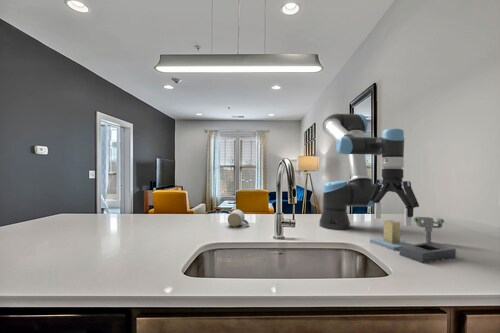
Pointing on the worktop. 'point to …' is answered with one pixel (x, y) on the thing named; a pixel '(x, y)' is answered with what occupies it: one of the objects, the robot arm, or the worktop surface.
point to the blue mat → (389, 245)
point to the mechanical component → (428, 225)
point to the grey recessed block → (427, 252)
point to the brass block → (391, 232)
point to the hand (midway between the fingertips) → (391, 221)
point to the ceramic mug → (237, 218)
